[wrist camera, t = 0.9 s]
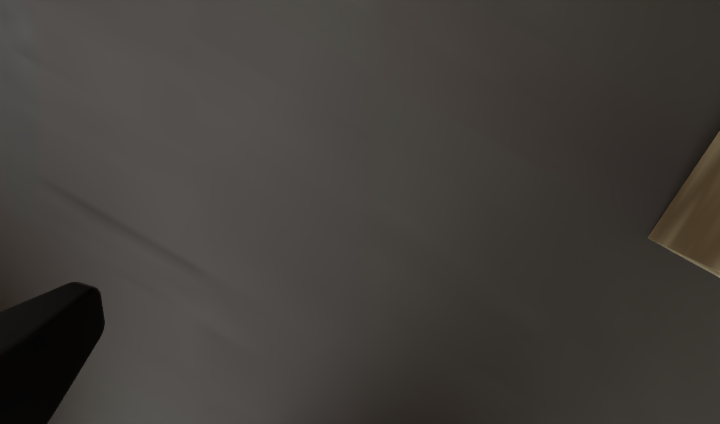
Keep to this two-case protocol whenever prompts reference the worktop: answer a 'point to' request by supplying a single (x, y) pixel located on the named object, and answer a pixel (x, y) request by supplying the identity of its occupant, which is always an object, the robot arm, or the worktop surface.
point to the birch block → (695, 215)
